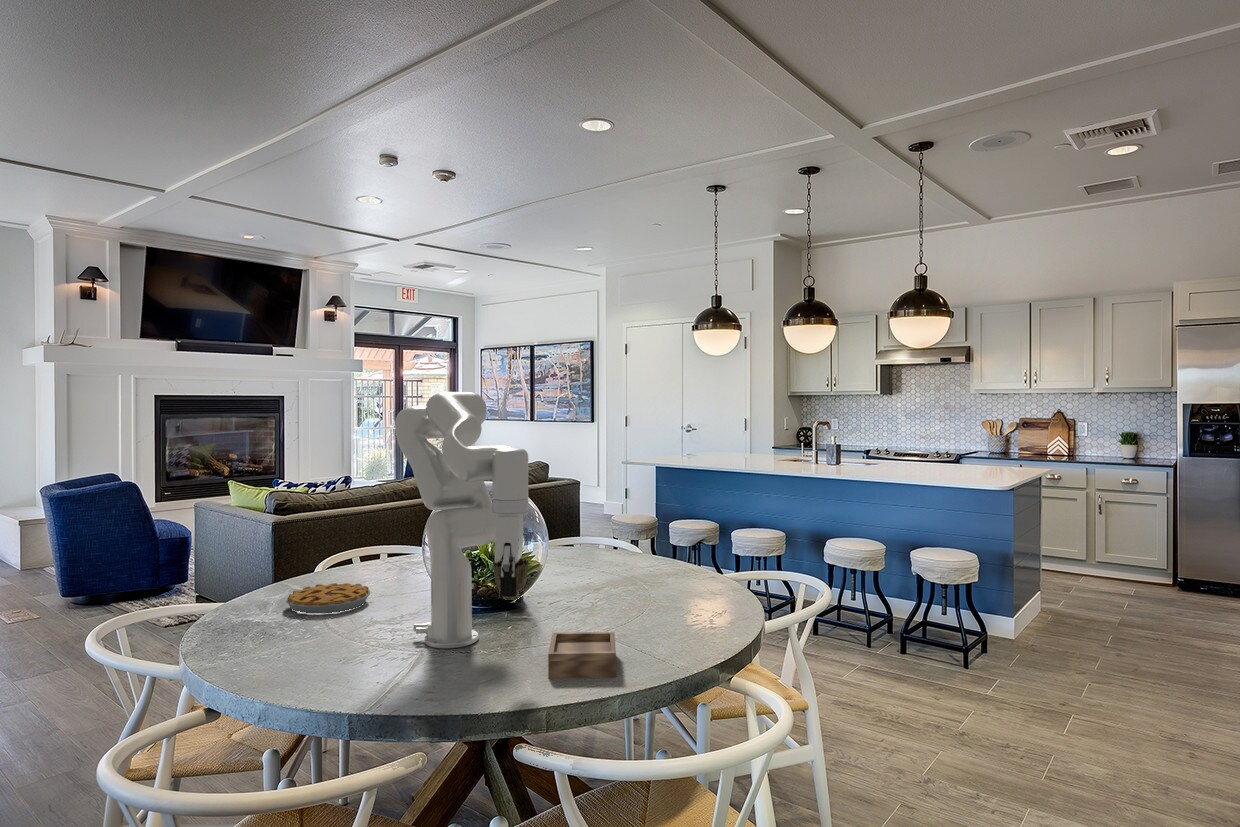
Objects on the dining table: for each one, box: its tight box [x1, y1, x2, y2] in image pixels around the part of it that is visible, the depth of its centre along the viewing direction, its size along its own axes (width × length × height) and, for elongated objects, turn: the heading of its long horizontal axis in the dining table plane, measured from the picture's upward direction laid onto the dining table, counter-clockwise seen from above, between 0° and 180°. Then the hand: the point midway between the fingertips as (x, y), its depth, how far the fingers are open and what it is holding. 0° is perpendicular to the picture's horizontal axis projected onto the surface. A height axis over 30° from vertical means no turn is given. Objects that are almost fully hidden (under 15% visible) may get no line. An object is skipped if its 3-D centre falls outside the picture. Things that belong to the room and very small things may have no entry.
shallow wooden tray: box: [547, 631, 617, 679], centre depth 159 cm, size 14×14×6 cm
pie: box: [285, 582, 371, 613], centre depth 208 cm, size 22×22×5 cm
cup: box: [492, 557, 529, 600], centre depth 155 cm, size 8×7×8 cm
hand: (510, 590), depth 155 cm, fingers closed on cup, 6 cm apart
